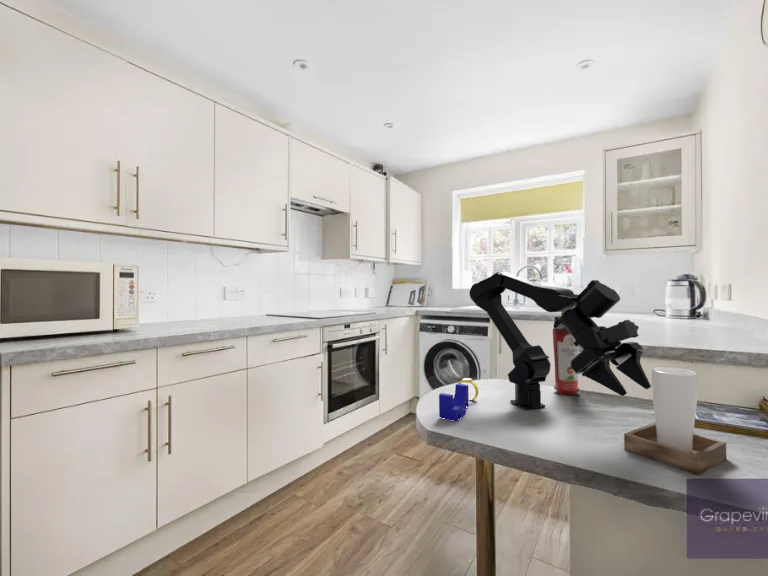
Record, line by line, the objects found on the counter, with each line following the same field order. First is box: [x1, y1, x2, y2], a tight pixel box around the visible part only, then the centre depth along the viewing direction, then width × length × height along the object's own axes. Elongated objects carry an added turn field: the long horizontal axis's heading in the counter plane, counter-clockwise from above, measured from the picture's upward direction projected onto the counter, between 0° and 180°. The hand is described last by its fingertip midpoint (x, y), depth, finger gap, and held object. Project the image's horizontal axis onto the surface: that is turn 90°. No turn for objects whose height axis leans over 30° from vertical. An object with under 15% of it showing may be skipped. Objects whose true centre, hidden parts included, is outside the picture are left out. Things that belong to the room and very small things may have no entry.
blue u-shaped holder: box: [438, 383, 470, 422], centre depth 93 cm, size 12×4×6 cm, turn 147°
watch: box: [457, 377, 479, 401], centre depth 103 cm, size 6×3×6 cm, turn 57°
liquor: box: [552, 312, 580, 396], centre depth 109 cm, size 7×7×28 cm
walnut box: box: [623, 422, 727, 476], centre depth 69 cm, size 12×12×3 cm
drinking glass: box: [651, 366, 698, 453], centre depth 70 cm, size 7×7×15 cm
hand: (637, 391), depth 75 cm, fingers open, 9 cm apart
